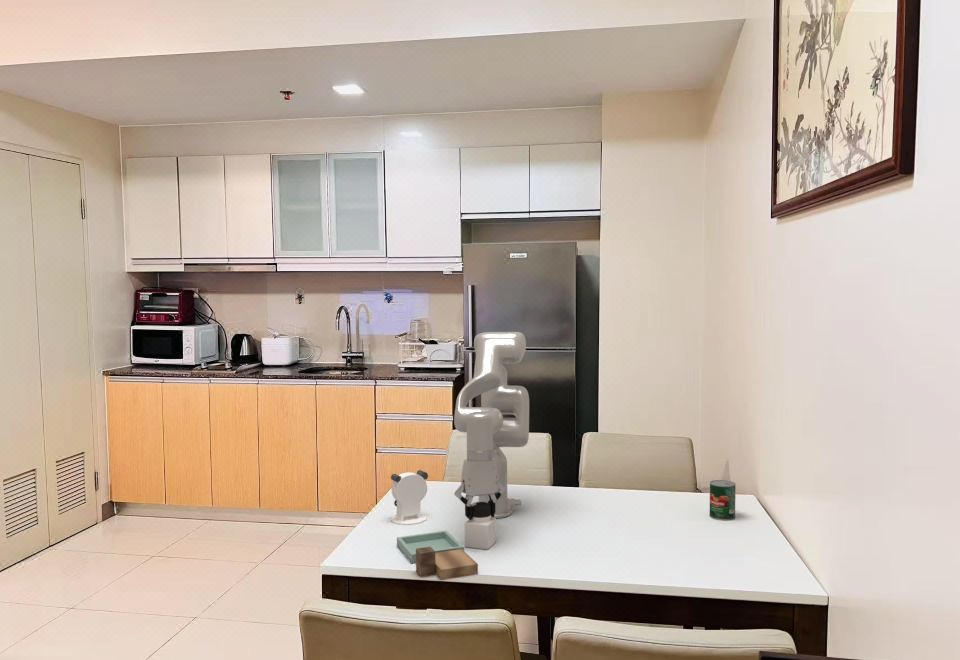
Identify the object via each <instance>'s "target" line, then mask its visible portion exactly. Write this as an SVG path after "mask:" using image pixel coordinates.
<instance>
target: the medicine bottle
mask: <svg viewBox="0 0 960 660" xmlns="http://www.w3.org/2000/svg"><path fill="white" fill-rule="evenodd" d="M471 506H472V508H473V519H472V520H469V519H468V520H467V521H465V523H464V548H471V549H478V550H479V549H481V550H489V549H490V548H492V547H493V545H494V544H495V543H496V542H497V528H496V527H497V525H496V524H497V523H496V522H497V518H491V505H490V504H489V503H486V502H479V501H476V502H473V503H472V502H471Z"/></svg>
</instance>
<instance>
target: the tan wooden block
mask: <svg viewBox="0 0 960 660" xmlns="http://www.w3.org/2000/svg"><path fill="white" fill-rule="evenodd" d="M435 568H436V574H435V575H436V576H437V577H438V578H439V579H440V580H441V581H442V580H447V579H449V580H450V579H453V578H461V577H468V576H473V575H479V564H478V563H477V561H476V560H474V559H473V558H472V557H471V556H470V555H469V554H468V553H467V552H466V551H465V549H464V550H463V549H458V550H452V551H445V552H438V553H435Z"/></svg>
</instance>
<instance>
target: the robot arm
mask: <svg viewBox="0 0 960 660" xmlns="http://www.w3.org/2000/svg"><path fill="white" fill-rule="evenodd" d="M473 340H474V341H473V346H474V347H473V348H474V351H475V361H474V370H473V377H472V378H471V379H470V380H469V381H468V382H467V383H466V384H465V385H464V386H463V387H462V388H461V390H460V391H459V393H458V395H457V398H456V400H455V401H456V402H455V408H454V417H453V420H454V421H453V422H454V423H453V424H454V427H455V429H456V430H457V431H458V432H460V433H466V459H464V460H463V463H462V468H461V469H462V470H461V481H460V482H461V483H460V485H459V486H458V488H457V489H456V490H455V491H454V493H453V495H455V497H457V499H459V501H461V502H462V503H463V504H464V515H465V517H466V518H467V519H468V520H472V519H473V508H472V506H471V504H472V502H473V499H474V497H478V502H486V503H489V504H490V505H491V518H496V519H502V518H506V517H509V516H510V515H512V513H513V509H512V508H513V507H514V506H515V507H516V506H521V505H522V501H521V499H520V498H519V499H515V498H508V460H507V457H506V455H505V454H504V452H503V450H501V448H523V447H525V446H526V445H528V443H529V436H530V396H529V392H528V390H527V388H526V387H524V386H522V385H508V371H507V368H506V367H505V366H504V364H507V365H509V364H516V365H517V364H520V363H521V361H522V360H523V358H524V356H525V353H526V348H527V340H526V336H525V335H524V334H523V333H522V332H520V331H484V332H481V333H480V332H479V333H478V334H475V336H474V339H473ZM480 395H481V396H480ZM478 396H480V398H481V399H480V402H481V405H480V407H478V406H475V407H473V406H467V405H468V404H469V402H470V401H471V400H473V399H475V398H476V397H478ZM504 415H513V416H515V417H504ZM462 493H464V494H465V496H464V495H462Z"/></svg>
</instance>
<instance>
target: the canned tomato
mask: <svg viewBox="0 0 960 660" xmlns="http://www.w3.org/2000/svg"><path fill="white" fill-rule="evenodd" d="M736 485H737V484H736V482H734V481H731V480H725V479H713V480H710V481H709V515H708V516H709V517H710V518H711V519H714V520H716V521H732V520H736V519H735V518H736V491H737V490H736Z"/></svg>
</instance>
